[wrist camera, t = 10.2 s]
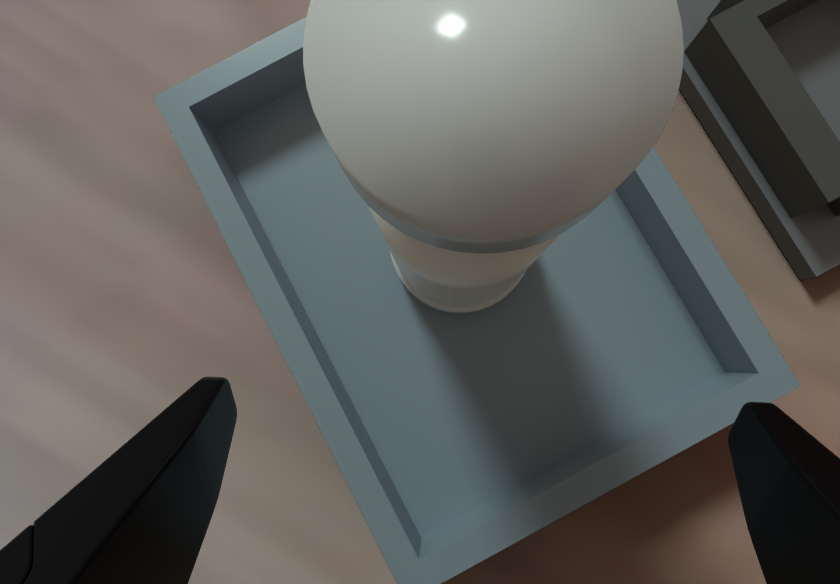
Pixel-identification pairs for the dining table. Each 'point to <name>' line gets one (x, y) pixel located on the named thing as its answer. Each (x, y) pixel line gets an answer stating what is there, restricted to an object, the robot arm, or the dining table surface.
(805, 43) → the grey piece
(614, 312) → the parts tray
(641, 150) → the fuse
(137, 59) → the dining table surface
